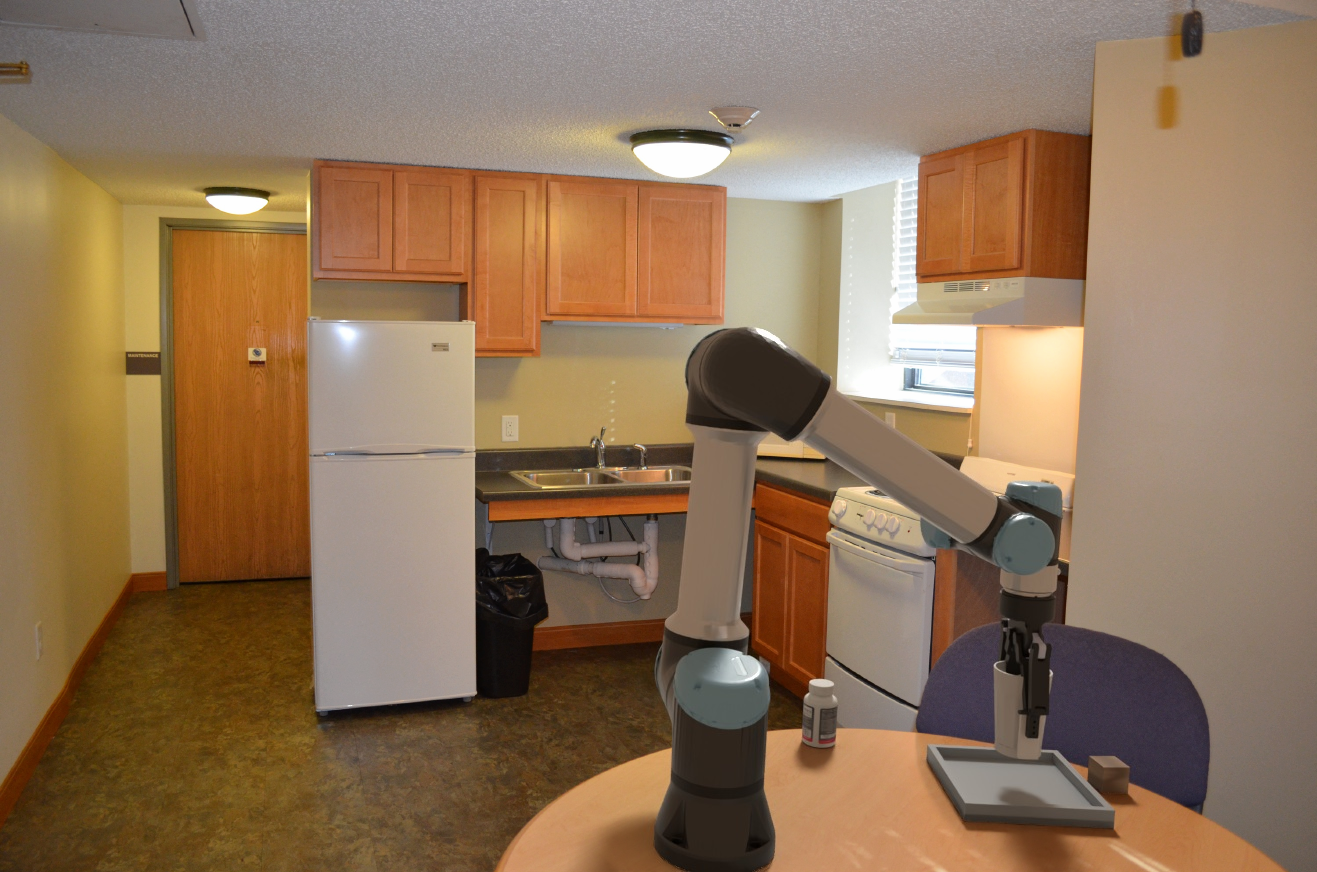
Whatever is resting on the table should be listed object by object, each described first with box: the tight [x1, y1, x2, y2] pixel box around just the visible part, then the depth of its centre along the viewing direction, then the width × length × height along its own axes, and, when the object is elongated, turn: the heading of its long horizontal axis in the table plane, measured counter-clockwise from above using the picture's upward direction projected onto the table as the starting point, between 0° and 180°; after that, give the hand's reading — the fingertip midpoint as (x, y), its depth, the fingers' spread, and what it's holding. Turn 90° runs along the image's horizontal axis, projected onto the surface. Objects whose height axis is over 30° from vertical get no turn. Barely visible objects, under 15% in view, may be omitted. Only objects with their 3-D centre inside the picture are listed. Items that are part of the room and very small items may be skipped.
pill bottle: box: [801, 678, 839, 749], centre depth 155 cm, size 5×5×10 cm
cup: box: [993, 661, 1054, 759], centre depth 139 cm, size 8×8×12 cm
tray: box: [925, 743, 1116, 829], centre depth 140 cm, size 20×20×2 cm
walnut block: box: [1086, 755, 1131, 794], centre depth 143 cm, size 4×4×4 cm
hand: (1017, 746), depth 140 cm, fingers closed on cup, 7 cm apart
